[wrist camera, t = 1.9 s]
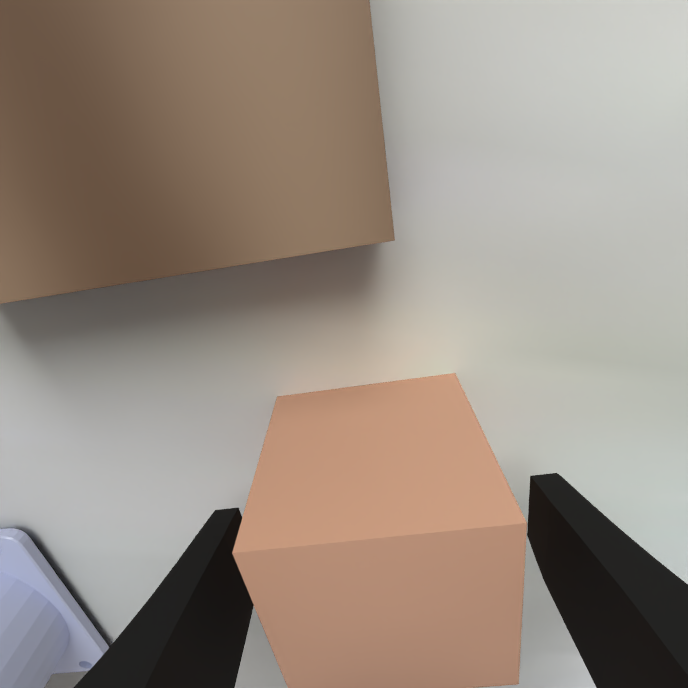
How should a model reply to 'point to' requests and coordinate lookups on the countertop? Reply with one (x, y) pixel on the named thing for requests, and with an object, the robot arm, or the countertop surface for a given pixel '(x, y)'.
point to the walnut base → (183, 138)
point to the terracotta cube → (384, 541)
